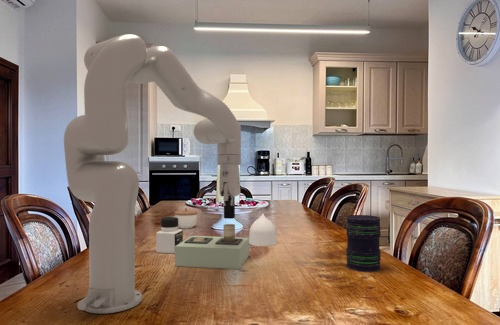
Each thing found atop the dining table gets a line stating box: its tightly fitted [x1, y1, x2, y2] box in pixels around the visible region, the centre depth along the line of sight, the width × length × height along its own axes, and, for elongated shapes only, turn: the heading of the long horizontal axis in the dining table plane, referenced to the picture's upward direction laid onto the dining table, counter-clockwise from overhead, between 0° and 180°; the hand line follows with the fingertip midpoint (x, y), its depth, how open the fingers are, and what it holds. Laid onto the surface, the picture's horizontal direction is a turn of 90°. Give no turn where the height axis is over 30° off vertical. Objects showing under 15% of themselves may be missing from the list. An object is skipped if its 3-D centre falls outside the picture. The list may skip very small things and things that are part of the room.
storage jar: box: [345, 214, 382, 273], centre depth 109 cm, size 10×10×15 cm
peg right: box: [223, 223, 236, 243], centre depth 116 cm, size 4×4×6 cm
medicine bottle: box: [155, 216, 184, 254], centre depth 130 cm, size 7×7×12 cm
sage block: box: [174, 235, 250, 270], centre depth 117 cm, size 16×20×6 cm
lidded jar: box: [174, 207, 198, 230], centre depth 176 cm, size 11×11×9 cm
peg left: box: [193, 238, 205, 242], centre depth 118 cm, size 4×4×6 cm
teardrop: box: [248, 212, 278, 247], centre depth 142 cm, size 11×11×12 cm
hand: (229, 218), depth 116 cm, fingers closed
